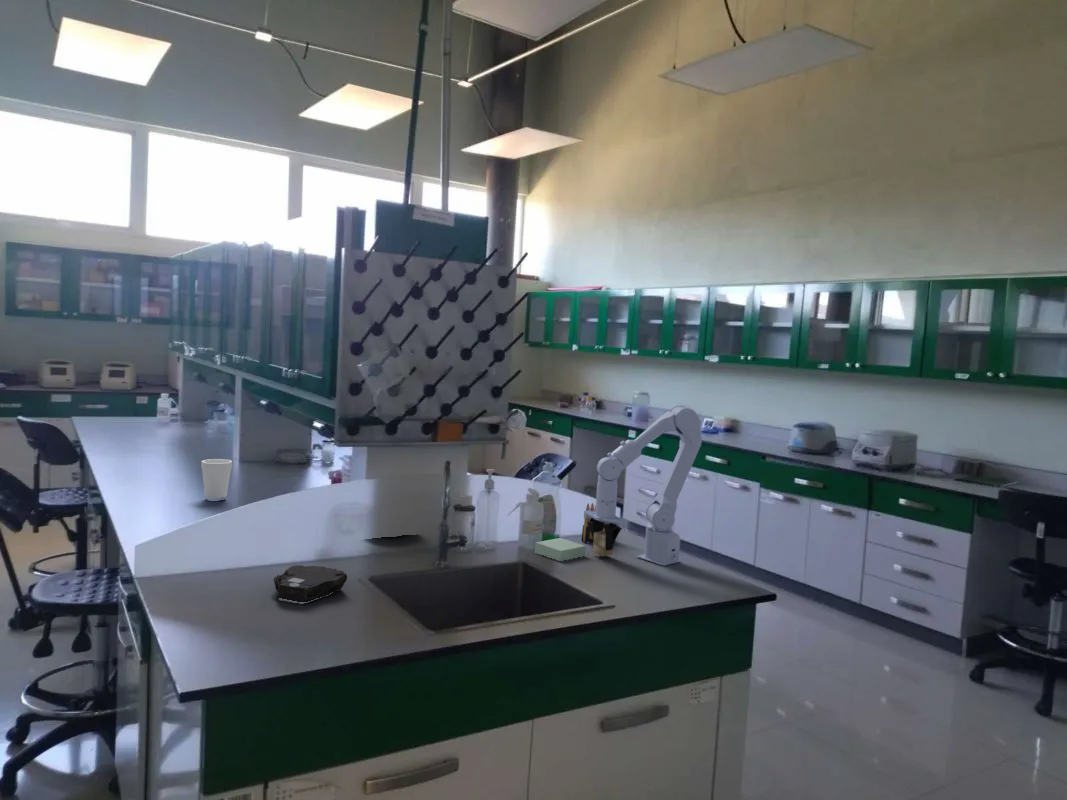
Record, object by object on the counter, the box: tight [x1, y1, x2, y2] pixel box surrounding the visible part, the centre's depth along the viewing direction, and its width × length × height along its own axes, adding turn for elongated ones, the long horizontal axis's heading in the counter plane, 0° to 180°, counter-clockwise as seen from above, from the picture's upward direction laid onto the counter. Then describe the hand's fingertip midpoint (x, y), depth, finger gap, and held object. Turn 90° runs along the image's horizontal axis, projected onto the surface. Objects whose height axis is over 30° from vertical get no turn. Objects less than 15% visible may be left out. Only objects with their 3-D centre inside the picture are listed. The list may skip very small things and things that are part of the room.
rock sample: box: [273, 564, 348, 602], centre depth 171 cm, size 18×16×5 cm
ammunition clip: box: [581, 502, 609, 544], centre depth 233 cm, size 11×2×12 cm, turn 127°
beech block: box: [592, 531, 614, 558], centre depth 216 cm, size 4×4×6 cm
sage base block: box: [534, 537, 586, 562], centre depth 215 cm, size 10×10×3 cm
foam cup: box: [200, 458, 233, 498], centre depth 255 cm, size 10×9×13 cm
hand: (603, 547), depth 216 cm, fingers closed on beech block, 4 cm apart
